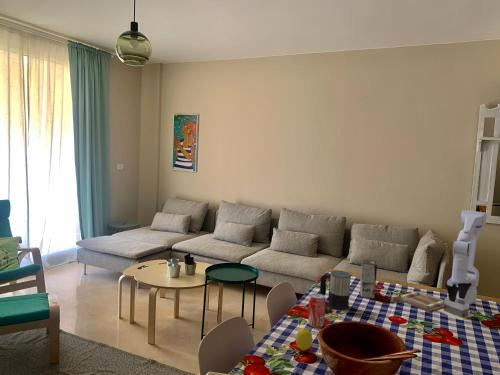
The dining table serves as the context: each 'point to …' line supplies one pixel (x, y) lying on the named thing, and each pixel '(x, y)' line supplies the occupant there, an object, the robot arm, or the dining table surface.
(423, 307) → the square wooden tray
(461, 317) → the stand
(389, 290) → the dining table surface
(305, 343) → the lemon
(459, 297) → the robot arm
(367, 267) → the coffee box
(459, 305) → the housing
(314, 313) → the soda can
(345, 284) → the milk frother
